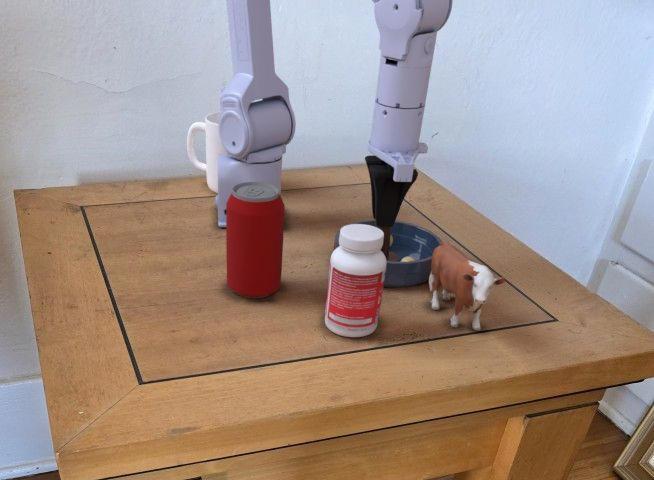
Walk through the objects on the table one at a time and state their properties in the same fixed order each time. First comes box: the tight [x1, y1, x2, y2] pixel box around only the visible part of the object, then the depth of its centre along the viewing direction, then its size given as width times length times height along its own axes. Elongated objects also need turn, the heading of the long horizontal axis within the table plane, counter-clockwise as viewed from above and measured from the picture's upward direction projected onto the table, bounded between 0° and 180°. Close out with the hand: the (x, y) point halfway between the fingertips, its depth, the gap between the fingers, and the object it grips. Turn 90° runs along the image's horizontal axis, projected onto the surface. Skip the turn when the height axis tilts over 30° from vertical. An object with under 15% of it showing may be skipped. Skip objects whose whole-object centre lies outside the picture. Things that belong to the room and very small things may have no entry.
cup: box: [186, 110, 227, 194], centre depth 110 cm, size 8×12×10 cm
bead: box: [400, 256, 415, 262], centre depth 90 cm, size 2×2×2 cm
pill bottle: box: [324, 224, 387, 338], centre depth 77 cm, size 6×6×11 cm
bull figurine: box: [428, 241, 507, 332], centre depth 81 cm, size 4×13×8 cm, turn 13°
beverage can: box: [225, 182, 285, 299], centre depth 83 cm, size 7×7×12 cm
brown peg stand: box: [377, 226, 399, 262], centre depth 89 cm, size 5×5×10 cm
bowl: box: [332, 218, 443, 288], centre depth 92 cm, size 14×14×4 cm
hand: (382, 222), depth 89 cm, fingers closed on brown peg stand
